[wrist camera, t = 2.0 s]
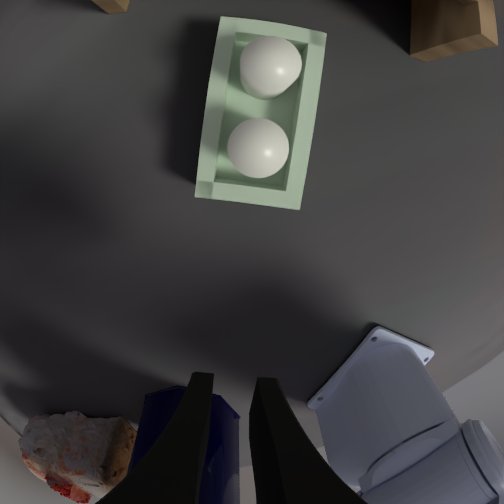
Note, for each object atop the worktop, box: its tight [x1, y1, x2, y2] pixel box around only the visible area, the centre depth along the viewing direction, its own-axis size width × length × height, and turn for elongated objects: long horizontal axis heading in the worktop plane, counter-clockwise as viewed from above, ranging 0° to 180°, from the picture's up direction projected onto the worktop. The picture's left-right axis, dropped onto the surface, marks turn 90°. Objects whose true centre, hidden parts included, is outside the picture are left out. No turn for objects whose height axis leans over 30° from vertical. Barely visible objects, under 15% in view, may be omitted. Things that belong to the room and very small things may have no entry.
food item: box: [18, 411, 137, 503], centre depth 20 cm, size 14×8×10 cm, turn 106°
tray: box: [195, 17, 327, 210], centre depth 13 cm, size 9×5×4 cm, turn 172°
